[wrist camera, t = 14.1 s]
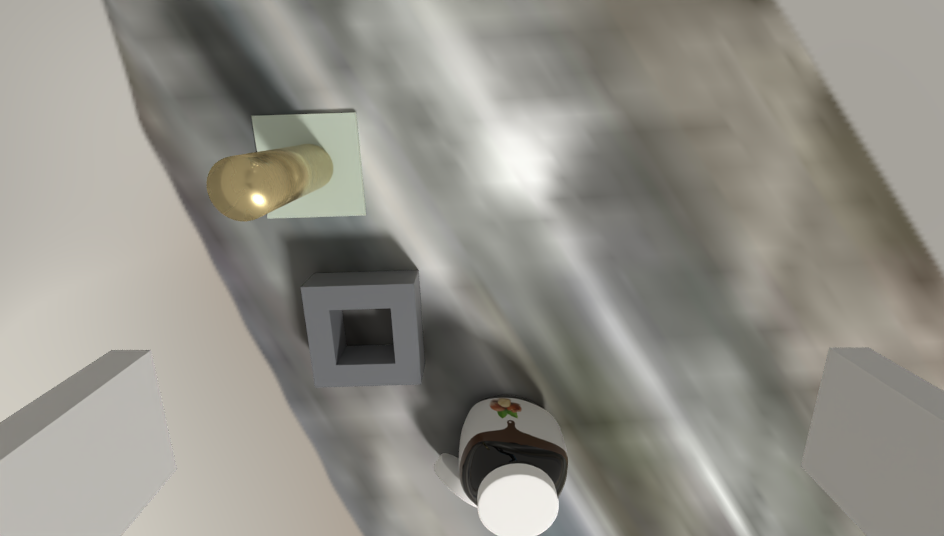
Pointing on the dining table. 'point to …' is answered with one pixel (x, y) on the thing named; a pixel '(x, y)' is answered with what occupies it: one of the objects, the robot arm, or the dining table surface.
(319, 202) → the mat
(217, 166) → the plug
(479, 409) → the spread jar
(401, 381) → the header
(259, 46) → the dining table surface
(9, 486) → the robot arm
